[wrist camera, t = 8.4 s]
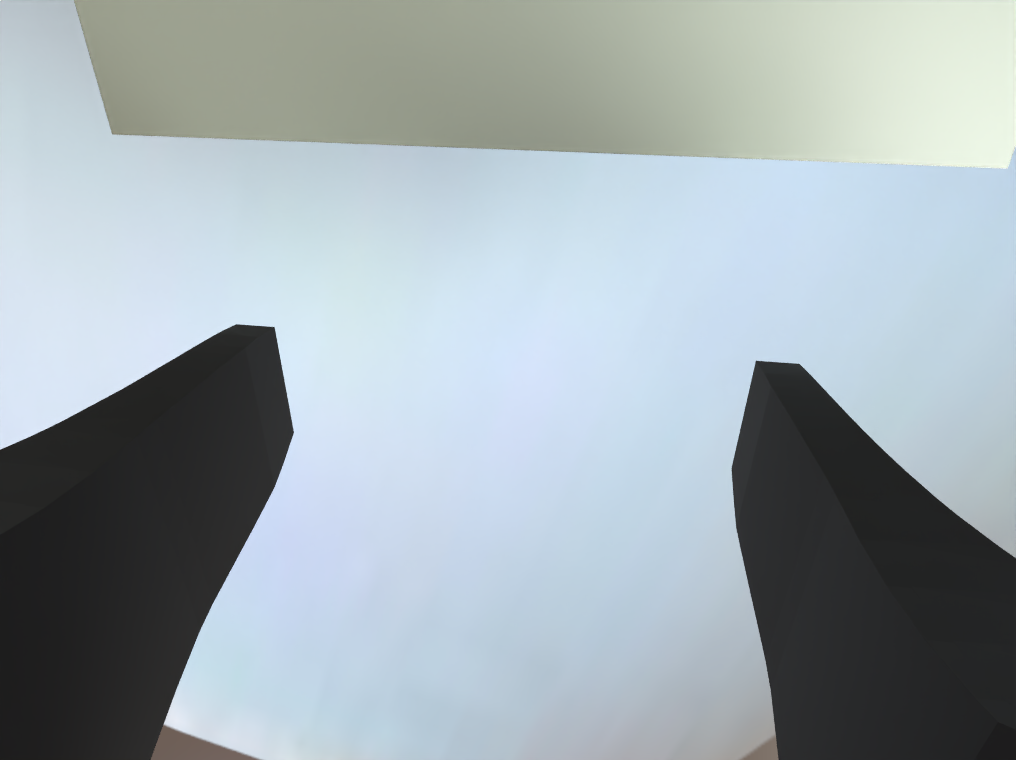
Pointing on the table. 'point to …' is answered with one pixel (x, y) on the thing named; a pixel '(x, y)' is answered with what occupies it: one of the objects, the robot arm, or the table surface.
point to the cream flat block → (572, 75)
